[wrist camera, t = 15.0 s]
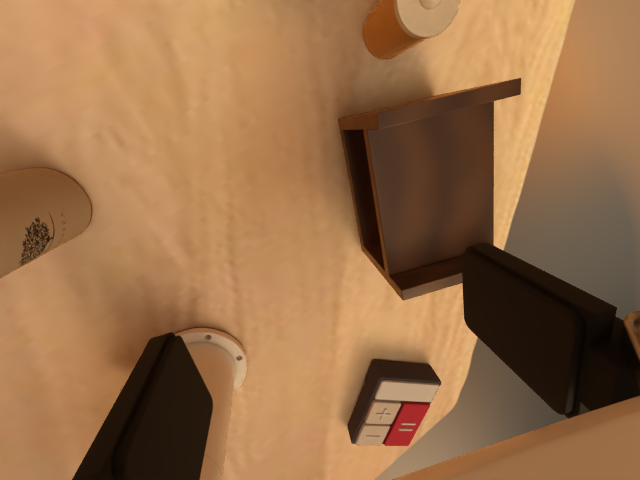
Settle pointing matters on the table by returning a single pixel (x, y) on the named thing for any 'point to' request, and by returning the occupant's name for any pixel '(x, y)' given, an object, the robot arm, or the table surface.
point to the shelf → (424, 184)
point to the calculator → (392, 403)
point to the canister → (405, 24)
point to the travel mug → (38, 214)
